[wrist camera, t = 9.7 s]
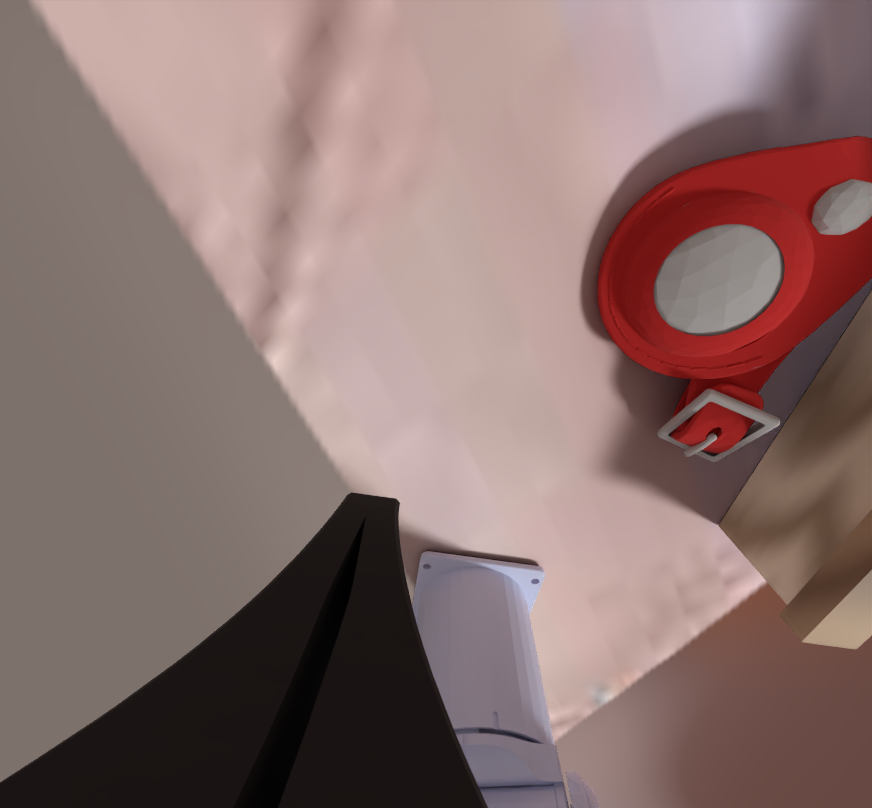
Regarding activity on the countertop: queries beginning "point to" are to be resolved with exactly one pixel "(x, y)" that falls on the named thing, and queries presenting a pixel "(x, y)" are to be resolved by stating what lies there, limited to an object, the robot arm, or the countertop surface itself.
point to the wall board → (818, 500)
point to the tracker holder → (737, 277)
